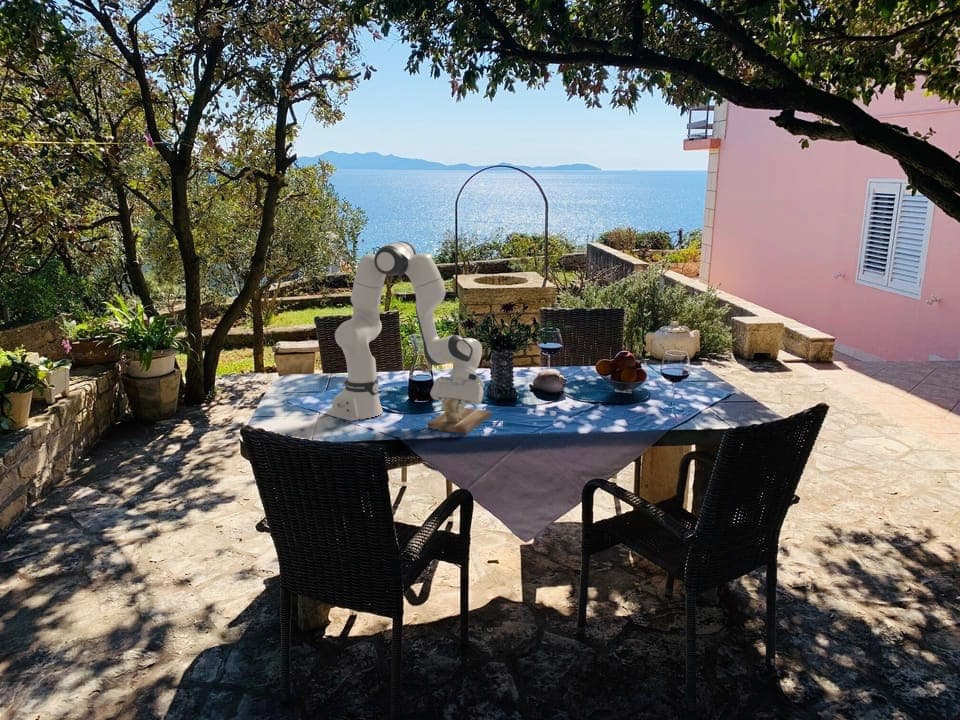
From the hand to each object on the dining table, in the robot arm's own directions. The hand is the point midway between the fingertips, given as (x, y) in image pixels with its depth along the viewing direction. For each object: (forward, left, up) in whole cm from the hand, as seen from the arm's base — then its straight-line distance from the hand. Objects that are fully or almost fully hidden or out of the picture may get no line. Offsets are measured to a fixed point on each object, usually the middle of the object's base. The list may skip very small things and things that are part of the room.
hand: (450, 411), depth 252 cm
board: (0, +7, -7) cm, 10 cm away
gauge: (0, +3, -4) cm, 5 cm away
